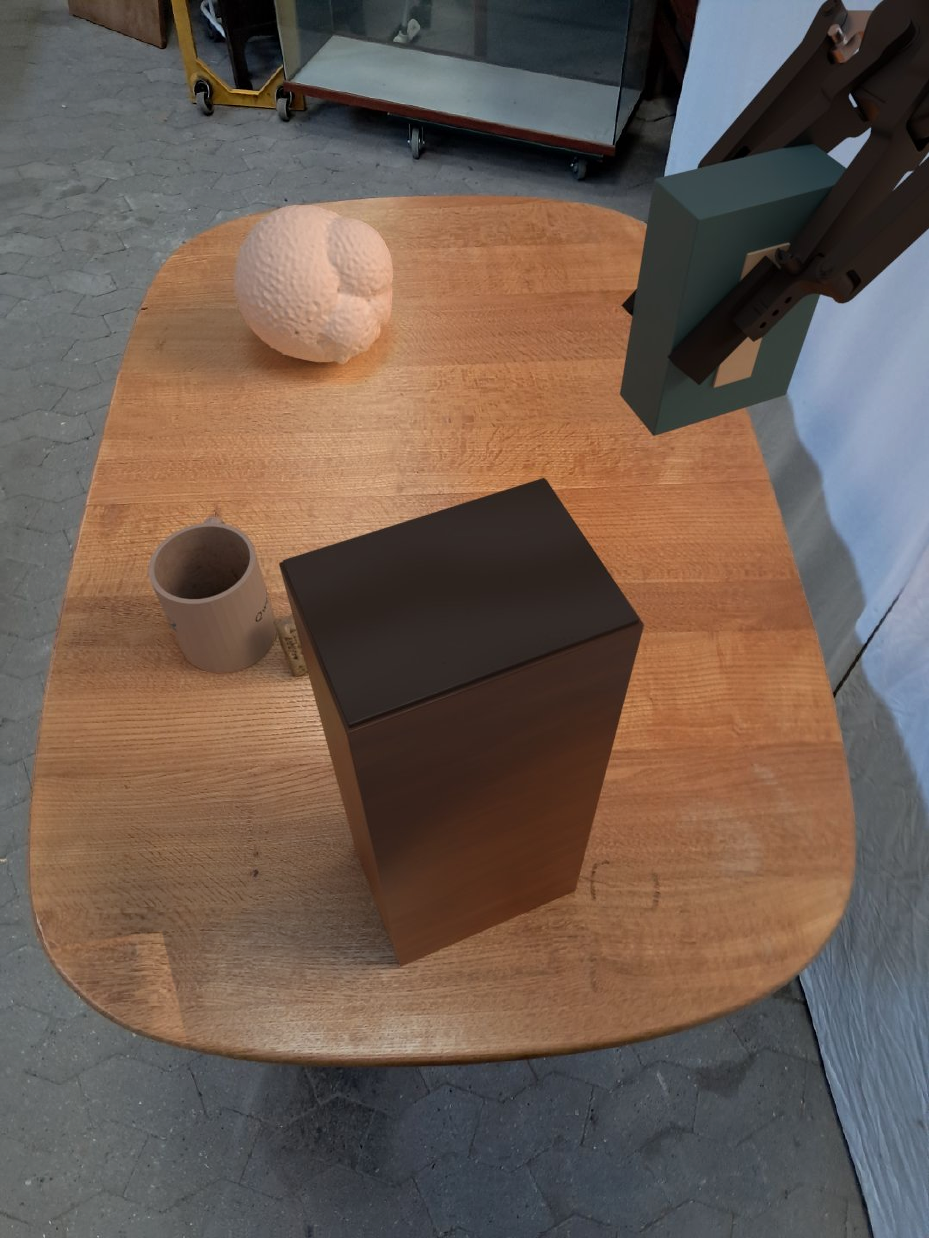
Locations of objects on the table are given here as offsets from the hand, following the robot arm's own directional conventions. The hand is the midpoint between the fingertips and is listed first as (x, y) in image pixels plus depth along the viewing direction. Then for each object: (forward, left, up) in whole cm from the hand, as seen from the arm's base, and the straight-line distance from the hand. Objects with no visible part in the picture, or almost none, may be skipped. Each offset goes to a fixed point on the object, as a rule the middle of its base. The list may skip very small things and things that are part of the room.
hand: (660, 344), depth 49 cm
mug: (+20, +26, -36) cm, 49 cm away
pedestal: (-10, +16, -36) cm, 40 cm away
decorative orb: (+55, +6, -36) cm, 66 cm away
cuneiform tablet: (+12, +17, -36) cm, 42 cm away
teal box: (0, -4, -5) cm, 6 cm away
